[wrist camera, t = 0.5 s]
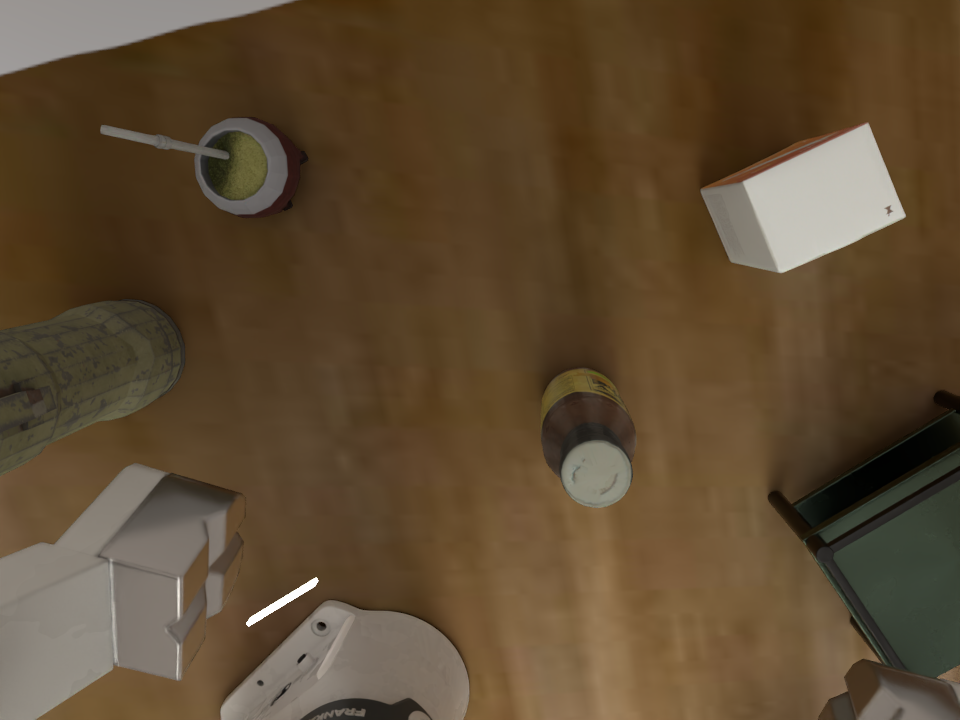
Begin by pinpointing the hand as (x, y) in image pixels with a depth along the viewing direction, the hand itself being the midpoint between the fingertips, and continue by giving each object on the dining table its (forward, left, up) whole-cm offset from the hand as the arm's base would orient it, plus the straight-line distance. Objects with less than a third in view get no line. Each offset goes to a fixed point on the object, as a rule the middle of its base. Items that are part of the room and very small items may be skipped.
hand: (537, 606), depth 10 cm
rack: (+14, -32, -52) cm, 63 cm away
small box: (+18, -5, -53) cm, 56 cm away
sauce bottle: (-2, -10, -53) cm, 54 cm away
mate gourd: (-12, +19, -53) cm, 57 cm away
